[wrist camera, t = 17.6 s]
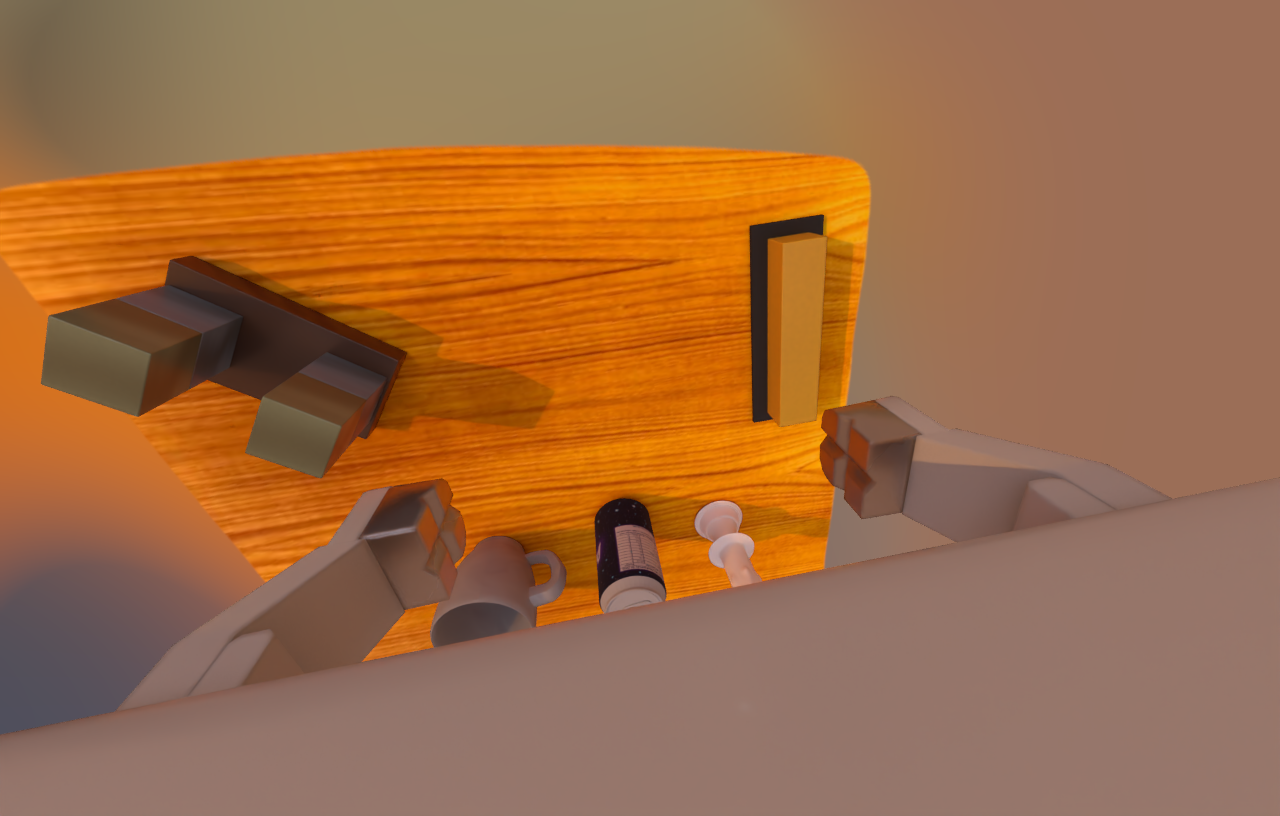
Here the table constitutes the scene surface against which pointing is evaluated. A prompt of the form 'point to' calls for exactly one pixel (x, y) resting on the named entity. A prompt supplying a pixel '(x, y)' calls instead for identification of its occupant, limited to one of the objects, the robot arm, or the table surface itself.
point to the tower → (228, 360)
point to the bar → (795, 325)
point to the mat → (760, 300)
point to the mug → (495, 592)
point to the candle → (727, 541)
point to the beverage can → (627, 557)
